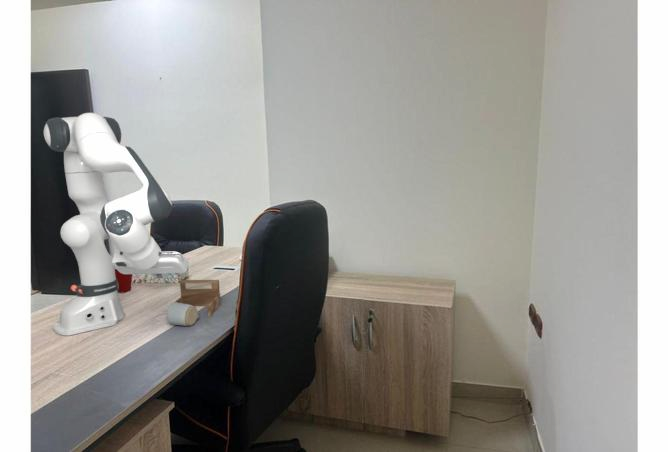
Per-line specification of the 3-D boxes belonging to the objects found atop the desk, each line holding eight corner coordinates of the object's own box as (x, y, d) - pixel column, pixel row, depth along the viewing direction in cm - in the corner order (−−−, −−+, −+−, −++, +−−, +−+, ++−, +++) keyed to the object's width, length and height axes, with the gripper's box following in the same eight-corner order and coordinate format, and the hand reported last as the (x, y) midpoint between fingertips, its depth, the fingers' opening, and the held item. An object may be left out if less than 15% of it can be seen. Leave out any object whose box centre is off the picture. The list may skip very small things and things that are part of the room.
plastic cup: (133, 293, 190) (130, 266, 188) (106, 295, 189) (103, 268, 187) (140, 286, 201) (138, 260, 199) (115, 287, 199) (112, 261, 197)
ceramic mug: (187, 329, 151) (185, 308, 149) (166, 327, 153) (164, 306, 152) (205, 318, 161) (203, 298, 159) (185, 316, 163) (183, 296, 162)
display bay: (210, 316, 162) (208, 290, 160) (170, 317, 162) (168, 290, 161) (220, 304, 174) (218, 279, 172) (183, 304, 175) (181, 280, 173)
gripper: (181, 243, 129) (196, 267, 140) (112, 244, 130) (132, 268, 141) (177, 262, 125) (192, 285, 137) (105, 263, 126) (127, 286, 138)
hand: (161, 276), depth 139 cm, fingers closed
